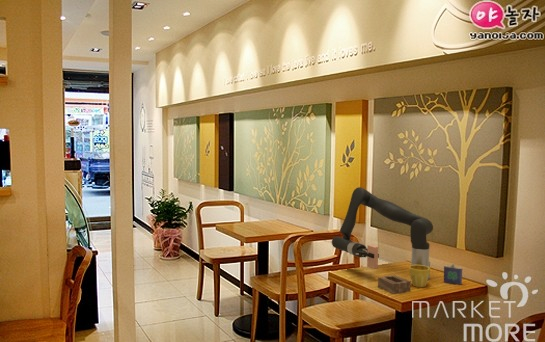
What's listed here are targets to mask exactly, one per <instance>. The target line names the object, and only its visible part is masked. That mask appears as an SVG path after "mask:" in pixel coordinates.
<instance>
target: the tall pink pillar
mask: <svg viewBox="0 0 545 342" xmlns="http://www.w3.org/2000/svg"><path fill="white" fill-rule="evenodd" d="M366 248H367V252H369V253H372V254H374V258H370V257H366V258H367V259H366V260H367V261H366V262H367V263H366V267H367V268H369V269H372V270H378V269H379V258H378V254H379V247H378V246H376V245H373V244H367V246H366Z"/></svg>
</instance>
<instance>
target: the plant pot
mask: <svg viewBox="0 0 545 342" xmlns="http://www.w3.org/2000/svg"><path fill="white" fill-rule="evenodd" d="M408 272H409V274H410V279H411V285H412V286H413V287H416V288H424V287H425V288H426V286H427V281H428V280H427V278H428V275H429V274H431V267H430V268H429V267H427V266H424V265H410V266H409V268H408Z"/></svg>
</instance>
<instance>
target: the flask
mask: <svg viewBox="0 0 545 342" xmlns="http://www.w3.org/2000/svg"><path fill="white" fill-rule="evenodd" d="M443 283H444V284H450V285H458V286H462V284H463V268H462V267H459V266H458V267H457V266H456V264H455V263H452V264H451V265H449V264H447V265H444V267H443Z"/></svg>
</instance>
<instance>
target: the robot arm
mask: <svg viewBox="0 0 545 342" xmlns="http://www.w3.org/2000/svg"><path fill="white" fill-rule="evenodd" d="M350 197H351V198H350V200H349V205H348V209H347V211H346V215H345V217H344V220H343V221H342V224H341V226H340V229H339V232H340V233H341V234H342V235H343V236H342V237H341V236H334V237H332V239H331V245H332V247H333V248H334V249H337V250H338V251H339V250H340V251H342V252H345V253H348V254H350V255H352V256H355V257H357V258H367V257H370V258H374V254H372V253H369V252H367V246H366V245H365V244H362V243H359V242H356V241H352V240H351V236H352V233H353V230H354V228H355V226H356V222H357V214H358V210H359V208H360V206H361V205H362V206H364V207H367V208H370V209H373V211H375V212H377V213H378V214H380V215H381V216H383V217H385V218H386V219H389V220H390V221H393V222H397V223H399V224H404V225H407V226H410V233H409V234H410V243H411V258H410V259H411V262H410V263H411V265H424V266H427V267H429V268H430V269H431V262H430V243H429V242H428V241H427V236H428V234H431V233H432V232H433V230H434V225H433V223H432V221H431V220H430V219H428V218H426V217H424V216H421V215H417V214H415V213H413V212H411V211H410V210H407V209H406V208H404V207H401V206H399V205H398V204H396V203H393V202H391V201H389V200H386V199H383V198H379V197H377V195H374V194H373V193H372V192H370V191H368V190H366V189H365V188H364V187H361V186H360V187H359V186H358V187H356V188H355V189H354V190H353V191H352V195H351V196H350ZM379 257H380V254H379V253H378V259H379ZM411 265H410V266H411ZM430 274H431V273H430ZM430 274H429V275H428V278H427V281H428V280H429V279H430V276H431V275H430Z"/></svg>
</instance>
